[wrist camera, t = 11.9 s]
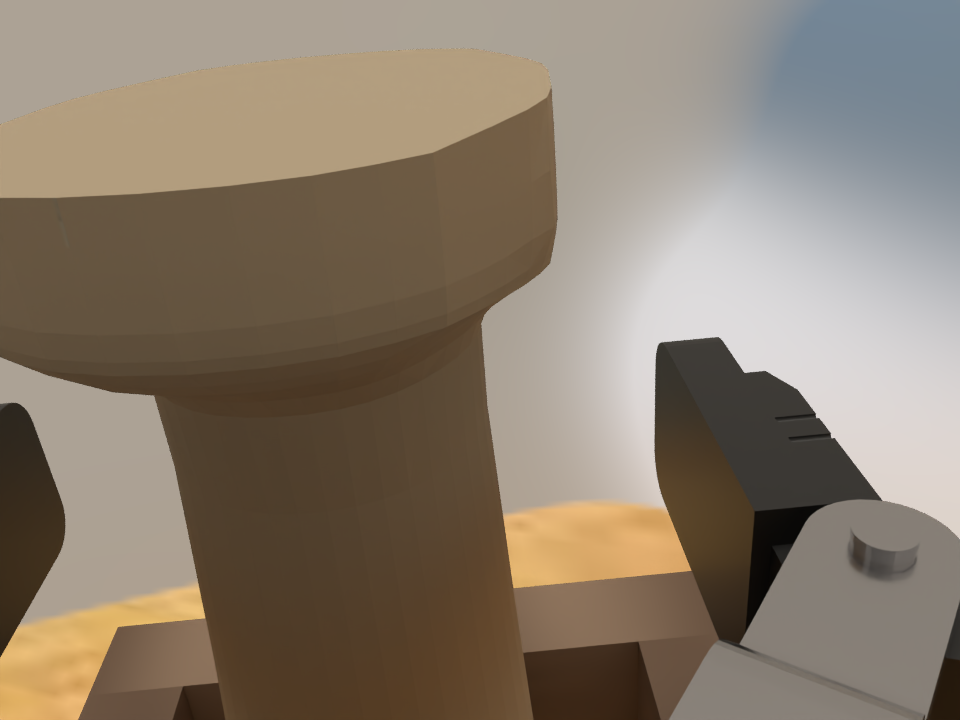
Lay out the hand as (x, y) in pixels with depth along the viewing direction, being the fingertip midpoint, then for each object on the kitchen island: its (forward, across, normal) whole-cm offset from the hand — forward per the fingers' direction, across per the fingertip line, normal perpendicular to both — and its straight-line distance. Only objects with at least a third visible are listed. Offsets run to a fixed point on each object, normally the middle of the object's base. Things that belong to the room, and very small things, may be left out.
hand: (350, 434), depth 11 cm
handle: (-2, 0, +11) cm, 11 cm away
